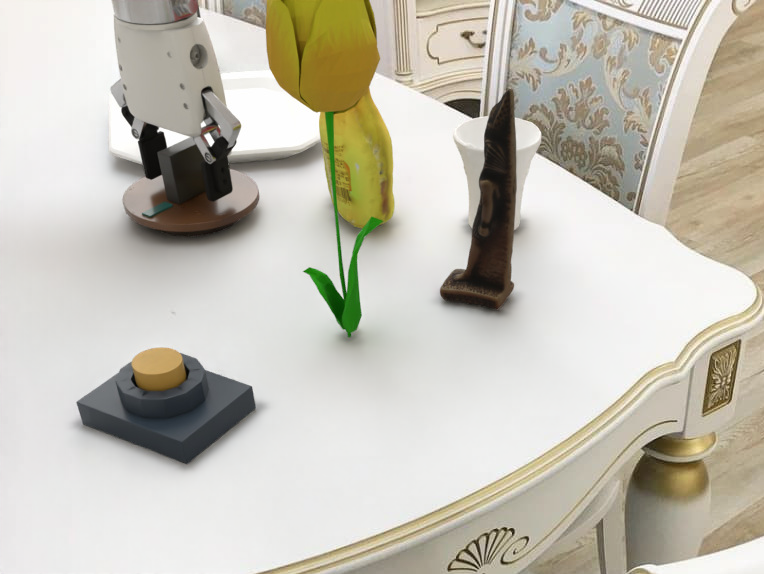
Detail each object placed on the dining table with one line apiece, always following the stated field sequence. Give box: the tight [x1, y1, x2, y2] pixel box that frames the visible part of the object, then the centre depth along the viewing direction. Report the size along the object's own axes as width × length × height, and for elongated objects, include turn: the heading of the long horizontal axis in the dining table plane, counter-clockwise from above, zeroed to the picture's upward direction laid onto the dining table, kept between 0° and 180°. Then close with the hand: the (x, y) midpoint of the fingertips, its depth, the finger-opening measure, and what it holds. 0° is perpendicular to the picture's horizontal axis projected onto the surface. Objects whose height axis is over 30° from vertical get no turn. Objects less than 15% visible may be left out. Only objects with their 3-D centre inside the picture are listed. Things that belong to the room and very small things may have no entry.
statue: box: [439, 88, 517, 310], centre depth 100 cm, size 4×7×20 cm, turn 71°
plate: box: [108, 69, 321, 166], centre depth 133 cm, size 25×25×2 cm
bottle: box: [319, 87, 395, 230], centre depth 112 cm, size 12×6×20 cm, turn 25°
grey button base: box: [76, 352, 257, 465], centre depth 91 cm, size 11×9×4 cm
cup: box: [452, 115, 542, 231], centre depth 114 cm, size 9×9×10 cm
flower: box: [265, 0, 383, 338], centre depth 91 cm, size 9×8×30 cm
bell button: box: [131, 346, 186, 391], centre depth 90 cm, size 4×4×2 cm
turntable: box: [122, 137, 260, 232], centre depth 115 cm, size 14×14×6 cm
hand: (189, 184), depth 116 cm, fingers open, 8 cm apart
